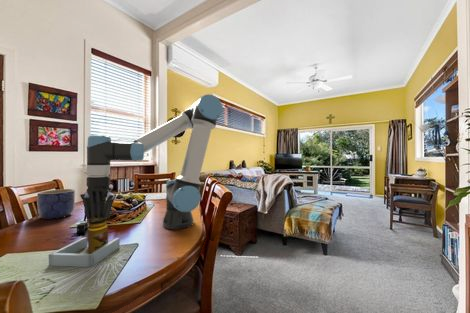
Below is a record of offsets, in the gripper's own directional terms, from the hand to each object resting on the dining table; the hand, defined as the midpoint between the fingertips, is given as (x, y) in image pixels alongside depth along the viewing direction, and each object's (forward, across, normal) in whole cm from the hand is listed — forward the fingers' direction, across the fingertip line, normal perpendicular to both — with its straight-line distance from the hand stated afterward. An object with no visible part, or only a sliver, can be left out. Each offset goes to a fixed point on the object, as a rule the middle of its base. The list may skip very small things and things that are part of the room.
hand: (97, 237), depth 79 cm
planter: (+6, +54, -37) cm, 66 cm away
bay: (+4, -1, +7) cm, 8 cm away
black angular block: (+5, +18, -14) cm, 24 cm away
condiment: (+4, -2, +3) cm, 6 cm away
